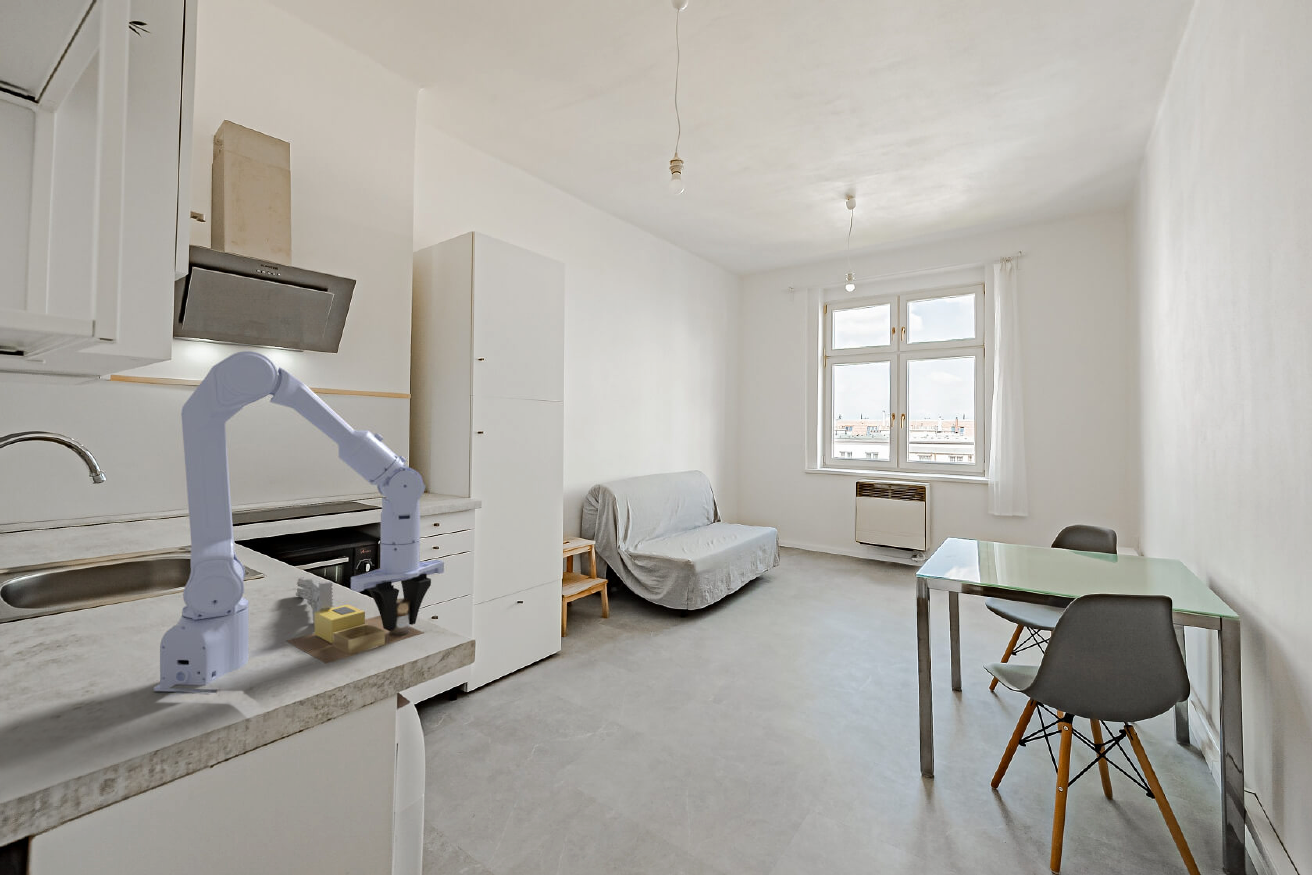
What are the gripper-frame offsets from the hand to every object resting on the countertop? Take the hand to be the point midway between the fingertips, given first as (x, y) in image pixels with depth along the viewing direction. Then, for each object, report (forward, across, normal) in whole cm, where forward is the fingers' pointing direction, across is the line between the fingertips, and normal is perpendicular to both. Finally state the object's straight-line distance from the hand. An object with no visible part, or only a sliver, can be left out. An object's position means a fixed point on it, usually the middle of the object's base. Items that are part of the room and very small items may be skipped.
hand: (399, 625), depth 92 cm
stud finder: (+1, -6, +6) cm, 9 cm away
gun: (+2, -4, +22) cm, 23 cm away
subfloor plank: (+2, -5, +4) cm, 7 cm away
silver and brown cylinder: (+1, 0, 0) cm, 1 cm away
